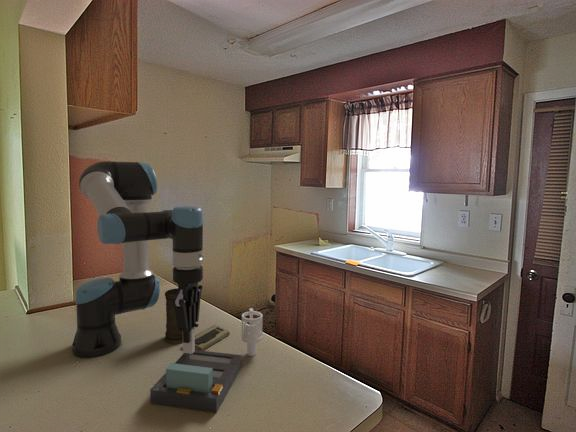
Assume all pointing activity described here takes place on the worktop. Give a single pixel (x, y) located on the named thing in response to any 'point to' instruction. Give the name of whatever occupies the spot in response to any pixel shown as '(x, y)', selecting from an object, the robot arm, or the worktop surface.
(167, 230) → the robot arm
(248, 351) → the white ringed cylinder
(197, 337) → the computer
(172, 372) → the panel
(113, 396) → the worktop surface
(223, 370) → the rack
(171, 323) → the container
